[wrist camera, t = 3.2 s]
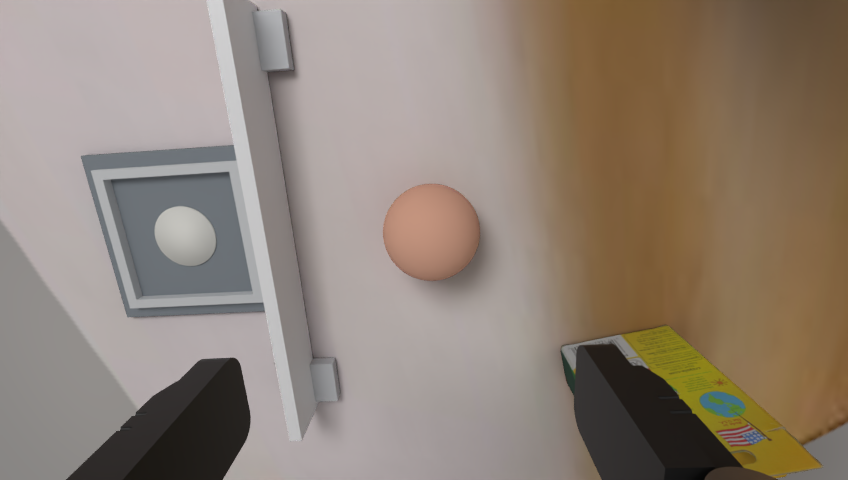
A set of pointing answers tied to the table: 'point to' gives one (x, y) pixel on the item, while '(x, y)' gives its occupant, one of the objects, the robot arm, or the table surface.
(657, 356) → the crayon box
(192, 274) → the slate mat
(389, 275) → the table surface
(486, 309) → the table surface
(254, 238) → the low wall
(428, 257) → the rubber ball
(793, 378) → the table surface
